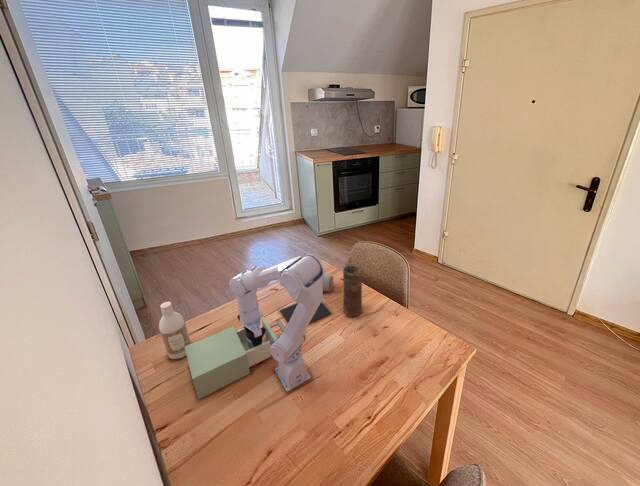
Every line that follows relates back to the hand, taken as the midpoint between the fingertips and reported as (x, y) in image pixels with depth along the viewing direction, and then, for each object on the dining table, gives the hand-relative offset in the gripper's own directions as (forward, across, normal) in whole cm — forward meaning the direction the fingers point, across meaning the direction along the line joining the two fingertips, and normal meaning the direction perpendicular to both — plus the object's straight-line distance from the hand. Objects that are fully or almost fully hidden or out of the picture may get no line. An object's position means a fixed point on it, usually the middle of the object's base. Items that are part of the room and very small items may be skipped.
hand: (253, 338), depth 96 cm
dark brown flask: (+6, -2, -38) cm, 39 cm away
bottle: (+4, 0, 0) cm, 4 cm away
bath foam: (+6, +15, +20) cm, 26 cm away
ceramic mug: (+6, +18, -36) cm, 41 cm away
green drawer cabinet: (+6, 0, +12) cm, 13 cm away
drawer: (+5, 0, -2) cm, 6 cm away
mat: (+6, +8, -22) cm, 25 cm away
